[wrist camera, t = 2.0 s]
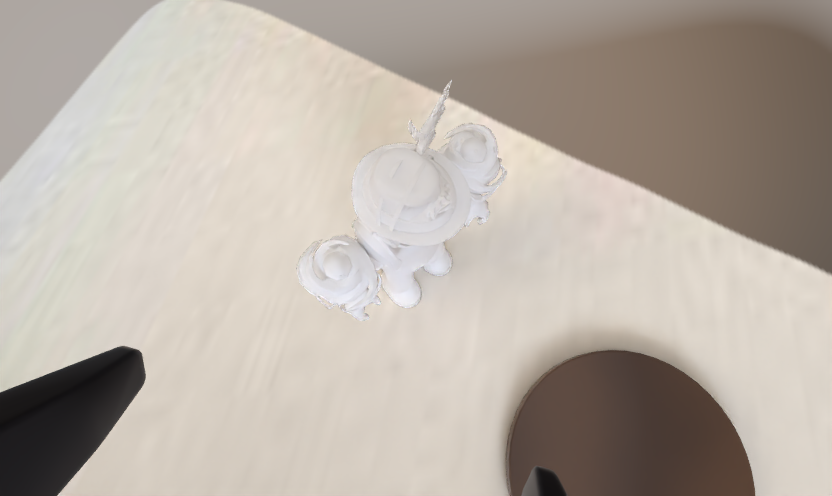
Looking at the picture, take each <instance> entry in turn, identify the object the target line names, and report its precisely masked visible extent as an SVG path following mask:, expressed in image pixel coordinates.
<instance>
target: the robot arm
mask: <svg viewBox="0 0 832 496" xmlns="http://www.w3.org/2000/svg"><path fill="white" fill-rule="evenodd" d="M145 378H146V374H145V368H144V363H143V357H142V353H141V352H140V351H139V350H137V349H133V348H130V347H126V346H120V347H117V348H114V349H112V350H109V351H106V352H104V353H101V354H99V355H96V356H93V357H91V358H88V359H86V360H83V361H81V362H78V363H75V364H73V365H70V366H68V367H65V368H62V369H60V370H57V371H55V372H52V373H49V374H47V375H44V376H42V377H39V378H37V379H34V380H31V381H29V382H26V383H24V384H21V385H18V386H16V387H13V388H11V389H8V390H5V391H3V392H0V496H57V495H58V494H59V493H60V492H61V491H62V489H63V488H64V487H65V486H66V485H67V484H68V482H69V481H70V480H71V479H72V478H73V477H74V475H75V474H76V473H77V472H78V471H79V470H80V468H81V467H82V466H83V465H84V464H85V463H86V462H87V460H88V459H89V458H90V457H91V456H92V454H93V453H94V452H95V451H96V450H97V448H98V447H99V446H100V444H101V443H102V442H103V441H104V439H105V438H106V437H107V435H108V434H109V432H110V431H111V430H112V428H113V427H114V425H115V424H116V423H117V421H118V420H119V418H120V417H121V416H122V414H123V413H124V411H125V410H126V409H127V407H128V406H129V404H130V403H131V402H132V400H133V399H134V397H135V396H136V395H137V393H138V392H139V391H140V389H141V388H142V386H143V384H144V382H145ZM522 496H568V495H567V493H566V491H565V489H564V487H563V485H562V483H561V481H560V480H559V478H558V476H557V474H556V473H555V472H554V471H553V470H551V469H547V468H544V467H540V466H535V467H534V468H533V469H532V471H531V473H530V475H529V478H528V480H527V482H526V484H525V486H524V488H523V491H522Z"/></svg>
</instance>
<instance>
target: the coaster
mask: <svg viewBox="0 0 832 496" xmlns="http://www.w3.org/2000/svg"><path fill="white" fill-rule="evenodd" d="M535 466H540V467H544V468H547V469H551V470H553V471H554V472H555V473H556V474H557V476H558V478H559V480H560V481H561V483H562V485H563V487H564V489H565V491H566V493H567V495H568V496H755V487H754V481H753V476H752V471H751V467H750V464H749V460H748V457H747V454H746V451H745V449H744V446H743V444H742V442H741V439H740V437H739V435H738V433H737V432H736V430H735V428H734V426H733V424H732V422H731V421H730V419H729V418H728V417H727V415H726V414H725V412H724V411H723V409H722V408H721V407H720V406H719V404H718V403H717V402H716V401H715V400H714V399H713V398H712V396H711V395H710V394H709V393H708V392H707V391H706V390H705V389H703V388H702V387H701V386H700V385H699V384H698V383H697V382H696V381H694V380H693V379H692V378H690V377H689V376H688V375H686V374H685V373H684V372H682V371H680V370H679V369H677V368H675V367H673V366H672V365H670V364H668V363H666V362H663V361H661V360H659V359H657V358H654V357H651V356H647V355H644V354H641V353H635V352H630V351H619V350H607V351H596V352H591V353H587V354H582V355H578V356H575V357H573V358H570V359H568V360H565V361H563V362H562V363H560V364H558V365H556V366H555V367H553V368H552V369H550V370H549V371H548V372H546V373H545V374H544V375H543V376H541V378H540V379H539V380H538V381H537V382H536V383H535V384H534V385H533V386H532V387H531V388H530V390H529V391H528V393H527V394H526V395H525V397H524V398H523V400H522V402H521V404H520V406H519V408H518V409H517V411H516V414H515V417H514V420H513V422H512V425H511V429H510V433H509V438H508V443H507V453H506V475H507V482H508V489H509V494H510V496H522V491H523V488H524V486H525V484H526V482H527V480H528V478H529V475H530V473H531V471H532V469H533V468H534V467H535Z"/></svg>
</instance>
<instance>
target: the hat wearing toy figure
mask: <svg viewBox="0 0 832 496" xmlns="http://www.w3.org/2000/svg"><path fill="white" fill-rule="evenodd" d="M451 82H452V81H450V82H449V83H448V85H447V86H446V87H445V89H444V90H443V95H441V97H440V98H439V100H438V102H437V104H436V106H435V108H434V109H433V111H432V113H431V115H430V116H429V118H428V119H427V121H426V122H425V124H424V125H423V127H422V128H421V130H420V131H419V132H418V131H417V129H415V126H413V123H412V122H411V119H410V120H409V124H408V129H409V132H410V134H411V135H412V136H413V138H415V141H417V144H410V143H396V144H390V145H385V146H381V147H379V148H377V149H375V150H373V151H371V152H369V153H368V154H367V155H366V156H364V157H363V159H362V160H361V161H360V163H359V164H358V166H357V168H356V170H355V173H354V177H353V182H352V201H353V206H354V209H355V212H356V214H357V218H356V220H355V221H354V222H353V223H352V228H353V229H354V231H355V235H356V236H355V239H353V238H351V237H349V236H347V235H341V236H335V237H332V238H331V239H330V240H327V241H325V242H324V243H323V244H322V245H321V246H320V247H319V248H318V249H317V250H316V252H315V256H313V257H312V253H313V252H314V250H315V249H316V248H317V246H318V245H319V244H320V242H321V241H322V240H323V239H322V240H319V241H316V242H313V243H312V244H311V246H310V247H309V248H308V249H307V250H306V251H305V252H304V253H303V254H302V256H301V257H300V259H299V262H298V265H297V268H296V269H297V273H298V277H299V281H300V284H301V285H302V286H303V287H304V288H305V289H306V290H307V291H308V292H309V293H310V294H312V295H315V297H316V298H317V299H318V300H319V301H320V302H321V303H322V304H323V305H324V306H325V307H327V308H328V309H331V308H333V307H334V306H335V305H336V304H337V305H338V306H339V307H340V309H341V310H342V311H344V312H346V313H350V314H351V315H352V316H353V317H355V318H356V319H358V320H360V321H365V320H368V319H369V315H368V314H367V313H364V310H365V306H366V305H368V304H370V303H375V304H376V305H380V304H381V301H380V299H379V297H378V296H377V293H378V292H379V290H380V288H381V285H382V286H383V289H384V290H385V292H386V293H387V294H388V296H389V297H390V298H391V300H392V301H393V302H394V303H396V304H397V305H399V306H401V307H404V308H410V307H413V306H415V305H416V304H418V303H419V301H420V300H421V288H420V286H419V284H418V282H417V281H416V280H415V279H414V271H416V270H418V269H420V268H421V267H424V269H425V270H426V272H428V273H430V274H432V275H436V276H442V275H445V274H447V273H448V272H449V271H450V269H451V267H452V262H453V261H452V257H451V255H450V253H449V251H448V250H447V249H446V248H445V246H444V242H445V241H446V240H448V239H450V238H452V237H453V236H454V235H455V234H456V233H458V232H459V231H460V230H461V228H462V227H463V225H464V226H465V227H468V226H469V223H470V221H471V220H472V219H474V218H476V217H478V220H477V222H478V224H479V225H480V224H483V223H485V222H486V221H487V219H488V216H489V213H490V212H489V210H488V202H487V201H486V199H487V198H489V197H490V196H491V195H492V194H493V192H494V191H495V190H496V188H497V187H498V186H500V185H501V183H502V182H503V181H504V179H505V177H506V174H507V170H506V171H505V169H504V167H503V166H502V165H501V164H500V162H501V161H502V159H500V158H498V157H497V156H498V147H497V142H496V138H495V136H494V134H493V133H492V131H491V130H490V129H489V128H487V127H486V126H484V125H479V124H473V123H469V124H462V125H460V126H458V127H456V128H454V129H452V130H451V131H449V132H448V133H447V134H446V136H445V138H444V140H445V139H447V138H449V137H451V139H450V141H449V143H447V144H445V145H444V146H443V147H441V148H440V149H439V150H438V151H435V150H433V149H430V148H428V146H429V145H430V143H431V142H432V140H433V139H434V137H435V134H436V132H435V130H434V129H435V127H436V125H437V123H438V121H439V119H440V117H441V116H442V114H443V112H444V110H445V107H444V102H445V100H446V99H447V97H448V95H449V92H448V90H449V88H450V86H451ZM419 139H420V141H419ZM418 142H419V143H418ZM500 168H501V169H502V172H503V174H502V176H501V177H500V178H499V179H498V180H497V182H495V183H493V184H492V185H487V184H489V183H490V182H491V181H492V180H493V179H495V178H496V176H497V175H498V172H499V169H500ZM487 192H489V193H487ZM483 193H487V194H486V195H484V196H482V195H481V194H483ZM379 269H382V270H383V272H382V276H380V274H378V273H377V272H376V271H377V270H379ZM378 277H379V279H380V281H379V284H378ZM368 286H369V288H368ZM319 297H322V298H324V299H325V300H326V301H328V302H329V303H333V305H332V306H328V305H327V304H325V303H324V302H323V301H322V300H321V299H320V298H319ZM343 304H344V306H345V310H344V309H343V308H342V307H341V306H340V305H343Z"/></svg>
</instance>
